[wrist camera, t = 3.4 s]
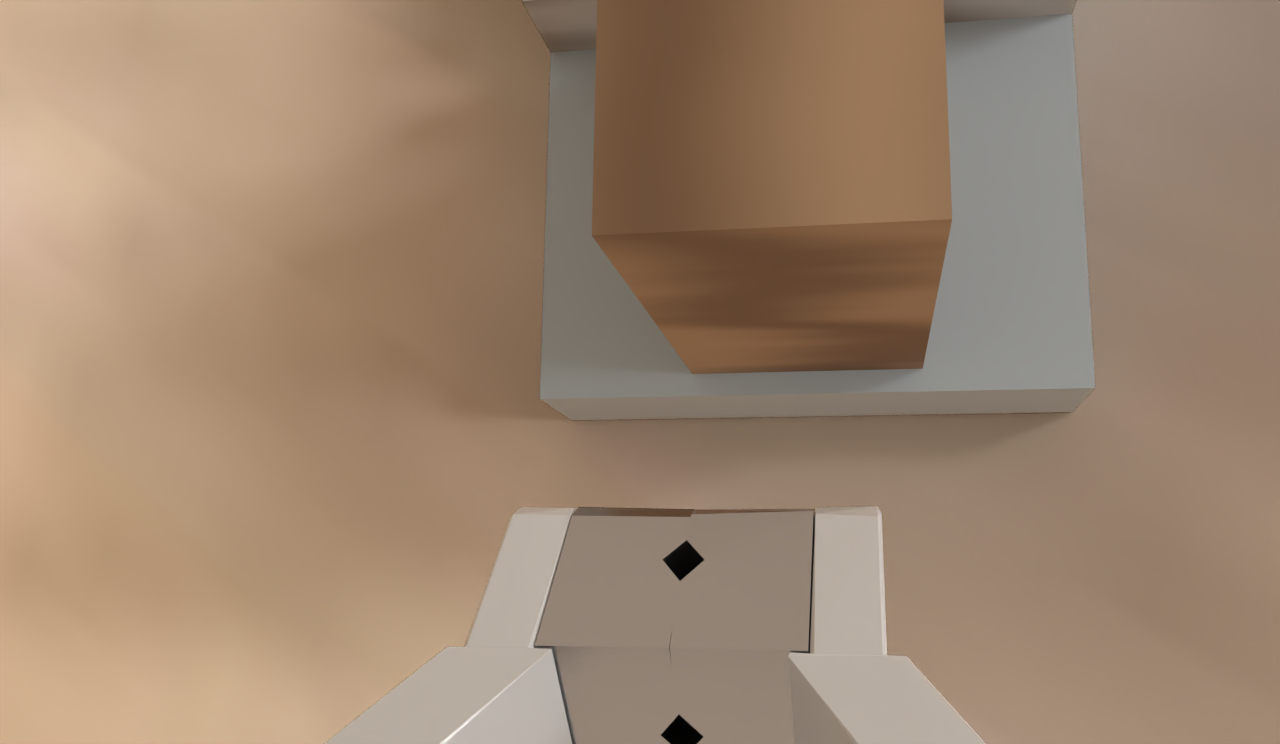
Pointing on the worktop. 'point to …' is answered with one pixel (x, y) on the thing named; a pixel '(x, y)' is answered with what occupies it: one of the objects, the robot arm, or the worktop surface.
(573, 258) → the board
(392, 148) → the worktop surface
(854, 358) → the brown boxy piece
